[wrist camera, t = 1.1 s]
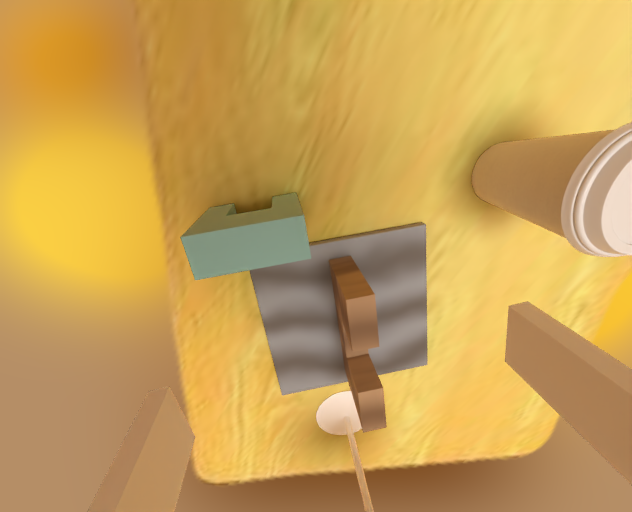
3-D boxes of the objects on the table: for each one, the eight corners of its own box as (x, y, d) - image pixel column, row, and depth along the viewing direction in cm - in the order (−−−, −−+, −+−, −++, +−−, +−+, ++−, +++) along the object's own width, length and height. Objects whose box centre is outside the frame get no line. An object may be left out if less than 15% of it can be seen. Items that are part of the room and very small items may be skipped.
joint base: (247, 254, 33) (235, 299, 24) (421, 222, 34) (475, 253, 25) (282, 389, 40) (283, 463, 31) (424, 359, 42) (465, 422, 32)
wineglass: (317, 387, 41) (360, 654, 20) (385, 391, 43) (491, 639, 22) (306, 435, 44) (333, 710, 23) (370, 436, 46) (450, 693, 25)
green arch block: (209, 207, 31) (180, 237, 21) (296, 192, 31) (303, 215, 22) (219, 239, 32) (195, 280, 23) (301, 224, 32) (311, 258, 23)
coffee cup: (504, 228, 36) (648, 285, 22) (441, 193, 33) (559, 233, 19) (557, 152, 33) (761, 162, 19) (494, 108, 30) (675, 83, 17)
